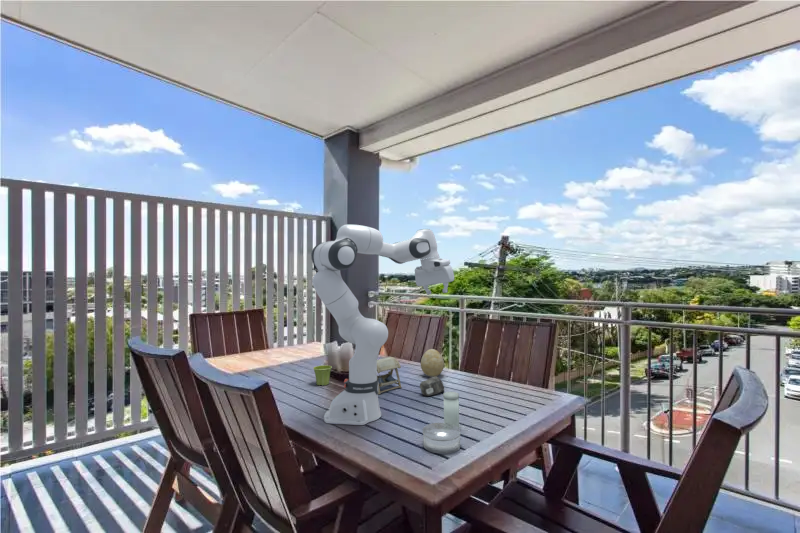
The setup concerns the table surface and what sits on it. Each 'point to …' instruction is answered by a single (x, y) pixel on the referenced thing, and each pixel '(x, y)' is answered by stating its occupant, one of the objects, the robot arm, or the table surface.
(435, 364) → the fossilized egg
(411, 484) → the table surface
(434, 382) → the stone
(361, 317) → the robot arm
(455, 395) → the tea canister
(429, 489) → the table surface
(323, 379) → the plant pot
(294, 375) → the table surface
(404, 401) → the table surface
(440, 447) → the round glass dish
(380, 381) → the swing bench
